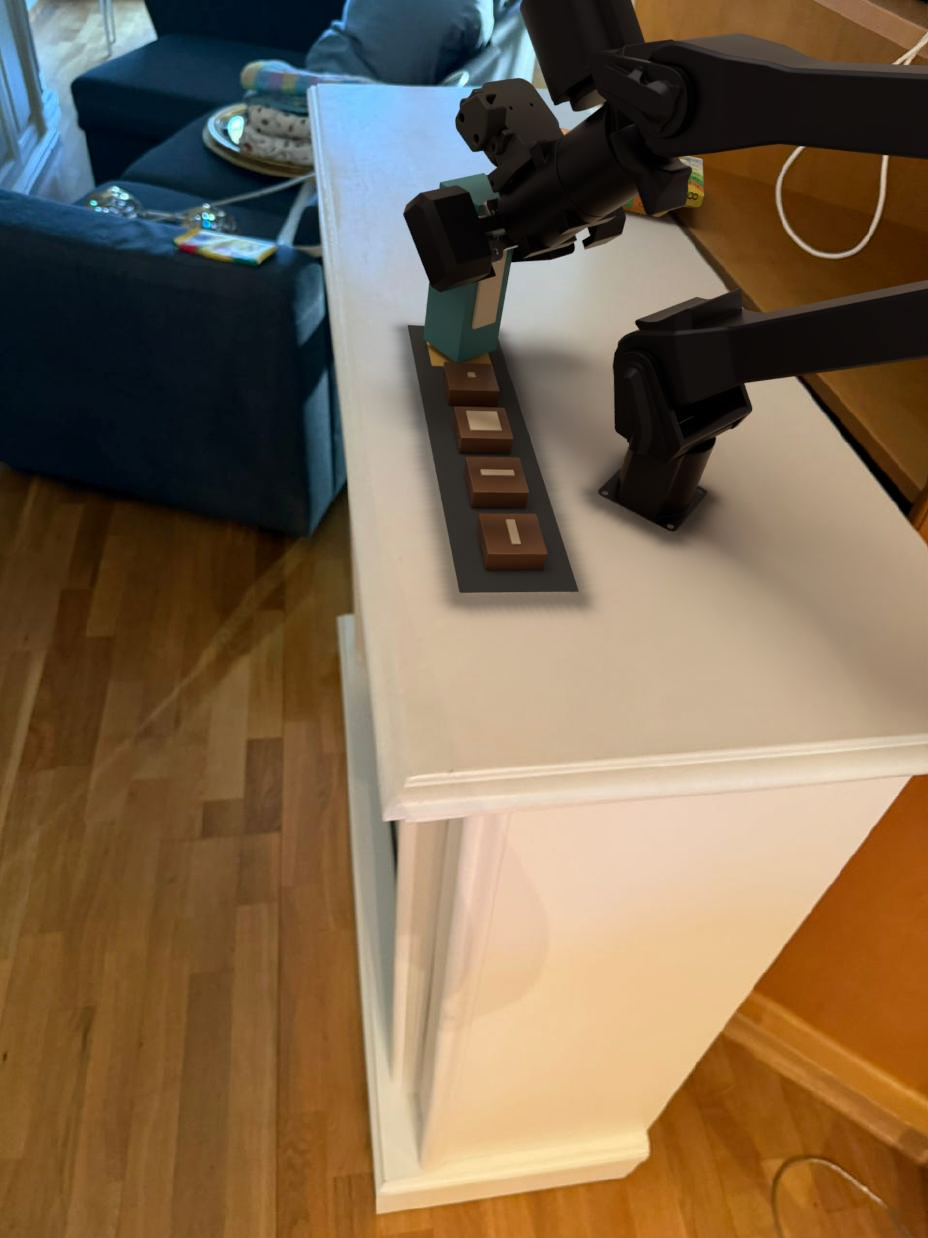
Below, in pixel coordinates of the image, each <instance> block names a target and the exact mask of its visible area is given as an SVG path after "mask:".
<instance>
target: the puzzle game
mask: <svg viewBox="0 0 928 1238" xmlns="http://www.w3.org/2000/svg"><path fill="white" fill-rule="evenodd" d="M560 129H561V131H562V132H563V134H564V135H565V134H566V133H568V132H569V131H571V130H572V129H568V128H563V127H560ZM679 159H680V160H681V162H682V163H684V164H685V165H688V166H690V167H691V168H692V174H691V176H690V178H689V181H688V187H689V191H688V195H687V201H686V204H685V205H684V206H683V207H685V208H691V209H696V208H699V207H702V206H703V204H704V199H705V178H704V177H705V176H704V160H703V159H702V158H699V157H696V156H684V157H679ZM622 207H623V210H624V212H625V211H626V212H630V213H636V214H641V215H645V216H647V215H646V213H645V211H644V208H643V205H642V202H641V199H640V196H639V195H638V196H637V197H635V198H633V199H632V200H630V201H629V202H627V203H625V204H624V205H622ZM668 212H669V211H666V212H663V213H660V214H656V215H653V216H652V217H655V218H660V217H662V216H664V215H665V214H667V213H668Z"/></svg>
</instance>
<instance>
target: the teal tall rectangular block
mask: <svg viewBox="0 0 928 1238" xmlns="http://www.w3.org/2000/svg"><path fill="white" fill-rule="evenodd" d="M487 175H488V174H486V173H484V172H481V173H476V174H472V175H468V176H462V177H457V178H453V179H449V180H444V181H439V186H438V189H440V188H445V187H449V186H454V185H458V186H460V187H462V188H463V189H465V190H467V191H468V192H470V195H471V198H472V200H473V203H474V206H475V208H476V211H477V214H478V216H485V215H486V217H488V215H487V214H486V212H485V209H484V206H483V204H484V202H486V201H487V200H491V199H495V198H500V196H499V193H498V192H497V193H493V191H492V189H491V186H490V183H489V180H488V178H487ZM495 215H496V214H495ZM491 216H492V215H491ZM504 234H506V235H507V233H503V234H500V235H502V236H503V235H504ZM500 235H496V236H498V237H499V236H500ZM496 236H494V239H495V237H496ZM513 249H514V248H511V249H508V250H504V251H503V258H502V260H501V261H499V262H497V263H495V264H492V265H493V268H494V271H495V273H496V276H495V277H492V278H489V279H485V280H482V281H479V282H475V283H472V284H468V285H465V286H461V287H458V288H455V289H451V290H448V291H445V292H441V293H440V292H438V291H437V290H435V289H434V288H432V287H431V285H430V282H429V281H428V288H427V289H428V290H427V299H426V306H425V307H426V308H425V317H424V325H423V326H424V335H423V339H424V340H425V341H427V342H428V343H430V344H431V345H432V346H434V347H435V348H436V349H438V350H439V351H441V352H442V353H443V354H445V355H446V356H448V357H449V358H450V359H452V360H453V361H454V362H463V361H466V360H469V359H471V358H474V357H477V356H480V355H483V354H485V353H488V352H491V351H494V350H496V347H497V341H498V339H499V336H500V335H499V334H500V329H501V323H502V318H503V313H504V312H503V311H504V306H505V302H506V301H505V300H506V294H507V288H508V284H509V283H508V282H509V277H510V272H511V265H512V263H511V260H512V255H513Z"/></svg>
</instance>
